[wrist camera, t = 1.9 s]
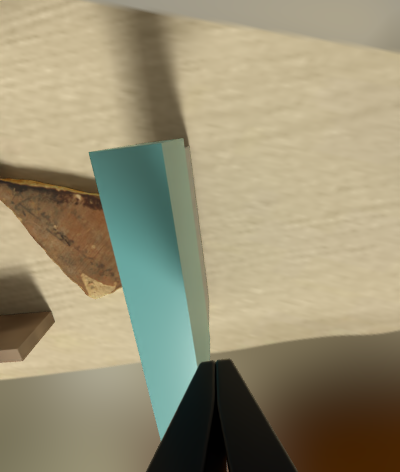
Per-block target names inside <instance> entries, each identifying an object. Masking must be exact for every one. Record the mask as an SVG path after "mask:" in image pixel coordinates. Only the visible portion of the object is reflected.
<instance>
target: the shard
mask: <svg viewBox="0 0 400 472" xmlns="http://www.w3.org/2000/svg"><path fill="white" fill-rule="evenodd" d="M0 200H1V201H2V202H3V203H4V204H5V205H6V206H7V207H9V208H10V209H11V210H12V211H13V213H14V214H15V215H16V216H17V218H18V219H19V220H20V221H21V223H22V224H23V225H24V226H25V228H26V229H27V230H28V232H29V233H30V235H31V236H32V237H33V238H34V239H35V241H36V242H37V243H38V244H39V245H40V246H41V247H42V248H43V249H44V250H45V252H46V253H47V255H48V256H49V257H50V258H51V259H52V260H53V261H54V262H55V263H56V264H57V265H58V266H59V267H60V268H61V270H62V271H63V272H64V273H65V274H66V275H67V276H68V277H69V278H70V279H71V280H72V281H73V282H74V283H76V284H78V286H79V287H80V288H81V289H82V290H83V291H84V292H85V294H86V295H88V296H89V297H91V298H94V299H97V298H101V297H103V296H105V295H107V294H111V293H113V292H115V291H116V290H118V289H119V288H121V287H122V283H121V279H120V275H119V271H118V267H117V263H116V259H115V255H114V251H113V247H112V243H111V239H110V235H109V231H108V227H107V223H106V219H105V216H104V212H103V208H102V204H101V200H100V196H99V194H98V193H86V192H83V191H78V190H74V189H71V188H67V187H61V186H55V185H51V184H44V183H41V182H37V181H34V180H24V179H20V180H16V179H11V178H7V179H0Z"/></svg>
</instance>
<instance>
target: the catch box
mask: <svg viewBox="0 0 400 472" xmlns="http://www.w3.org/2000/svg"><path fill="white" fill-rule="evenodd" d="M54 322H55V321H54V318H53V316H52V313H51V311H49V312H37V313H25V314H13V315H2V316H0V363H2V362H16V361H23V360H24V359H25V358H26V356H27V355H28V354H29V353H30V352H31V350H32V349H33V348H34V347H35V345H36V344H37V343H38V342H39V341H40V339H41V338H42V337H43V336H44V334H45V333H46V332H47V331H48V330H49V328H50V327H51V326H52V325H53V323H54Z"/></svg>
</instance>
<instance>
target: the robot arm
mask: <svg viewBox="0 0 400 472" xmlns="http://www.w3.org/2000/svg"><path fill="white" fill-rule="evenodd" d="M227 464H228V469H229V472H298V471H297V469H296V468H295V466H294V464H293V463H292V461H291V459H290V458H289V456H288V454H287V453H286V451H285V449H284V448H283V446H282V444H281V442H280V441H279V439H278V437H277V436H276V434H275V432H274V431H273V429H272V427H271V426H270V424H269V422H268V420H267V419H266V417H265V415H264V414H263V412H262V410H261V409H260V407H259V405H258V403H257V402H256V400H255V398H254V397H253V395H252V393H251V392H250V390H249V388H248V387H247V385H246V383H245V381H244V380H243V378H242V376H241V375H240V373H239V371H238V370H237V368H236V366H235V365H234V363H233V361H232V360H231V359H221V360H217V362H215V361H213V360H212V361H204V362H201V363H200V364H199V366H198V368H197V370H196V372H195V374H194V376H193V378H192V380H191V382H190V384H189V386H188V388H187V390H186V392H185V394H184V396H183V398H182V400H181V402H180V404H179V406H178V408H177V410H176V412H175V414H174V416H173V418H172V420H171V422H170V424H169V426H168V428H167V430H166V432H165V434H164V436H163V438H162V440H161V442H160V444H159V446H158V448H157V450H156V452H155V455H154V457H153V459H152V461H151V463H150V465H149V467H148V469H147V471H146V472H227Z"/></svg>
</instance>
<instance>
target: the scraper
mask: <svg viewBox="0 0 400 472" xmlns="http://www.w3.org/2000/svg"><path fill="white" fill-rule="evenodd" d="M89 156H90V160H91V164H92V168H93V172H94V176H95V180H96V184H97V188H98V192H99V196H100V200H101V204H102V208H103V212H104V216H105V219H106V223H107V227H108V231H109V235H110V239H111V243H112V247H113V251H114V255H115V259H116V263H117V267H118V271H119V275H120V279H121V283H122V287H123V291H124V295H125V299H126V303H127V307H128V311H129V315H130V319H131V323H132V327H133V331H134V335H135V339H136V343H137V347H138V351H139V355H140V359H141V363H142V367H143V371H144V375H145V379H146V383H147V387H148V390H149V395H150V399H151V403H152V407H153V411H154V414H155V419H156V423H157V427H158V431H159V434H160V439H161V440H162V438H163V436H164V434H165V432H166V430H167V428H168V426H169V424H170V422H171V420H172V418H173V416H174V414H175V412H176V410H177V408H178V406H179V404H180V402H181V400H182V398H183V396H184V394H185V392H186V390H187V388H188V386H189V384H190V382H191V380H192V378H193V376H194V374H195V372H196V370H197V368H198V366H199V364H200V363H201V362H204V361H210V334H209V296H208V288H207V280H206V273H205V265H204V257H203V249H202V241H201V233H200V226H199V218H198V210H197V202H196V194H195V186H194V179H193V171H192V163H191V155H190V147H189V146H184V139H183V138H180V139H172V140H165V141H157V142H149V143H142V144H136V145H130V146H124V147H118V148H112V149H105V150H99V151H93V152H89Z"/></svg>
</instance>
